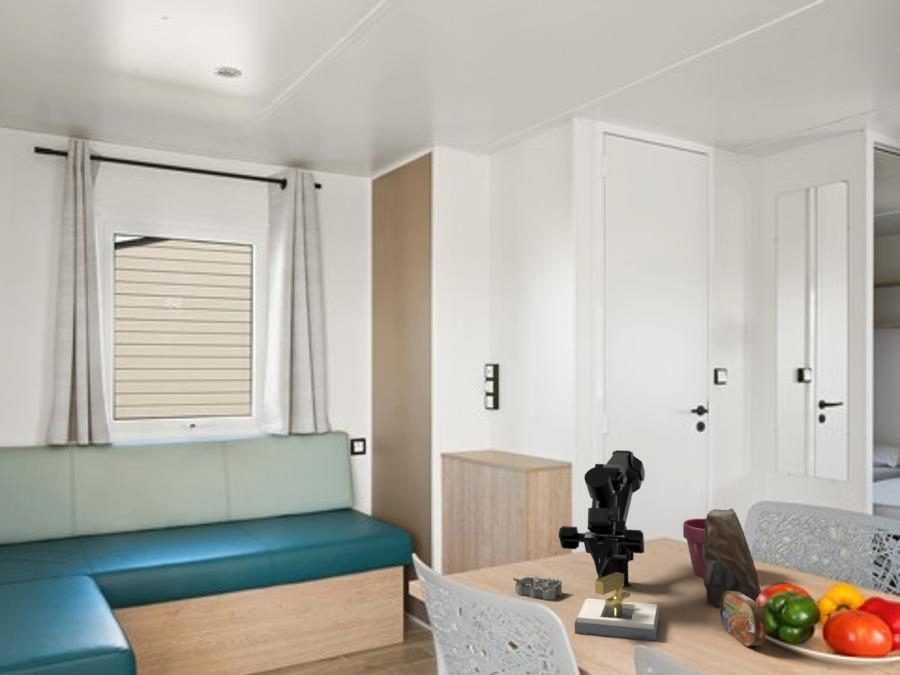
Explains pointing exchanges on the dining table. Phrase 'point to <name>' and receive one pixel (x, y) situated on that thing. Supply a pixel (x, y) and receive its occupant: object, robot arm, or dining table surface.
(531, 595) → the egg carton
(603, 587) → the key
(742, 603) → the tin
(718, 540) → the dark brown tall lump
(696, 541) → the plant pot
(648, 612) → the cover
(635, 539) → the robot arm
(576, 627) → the grey flat block
